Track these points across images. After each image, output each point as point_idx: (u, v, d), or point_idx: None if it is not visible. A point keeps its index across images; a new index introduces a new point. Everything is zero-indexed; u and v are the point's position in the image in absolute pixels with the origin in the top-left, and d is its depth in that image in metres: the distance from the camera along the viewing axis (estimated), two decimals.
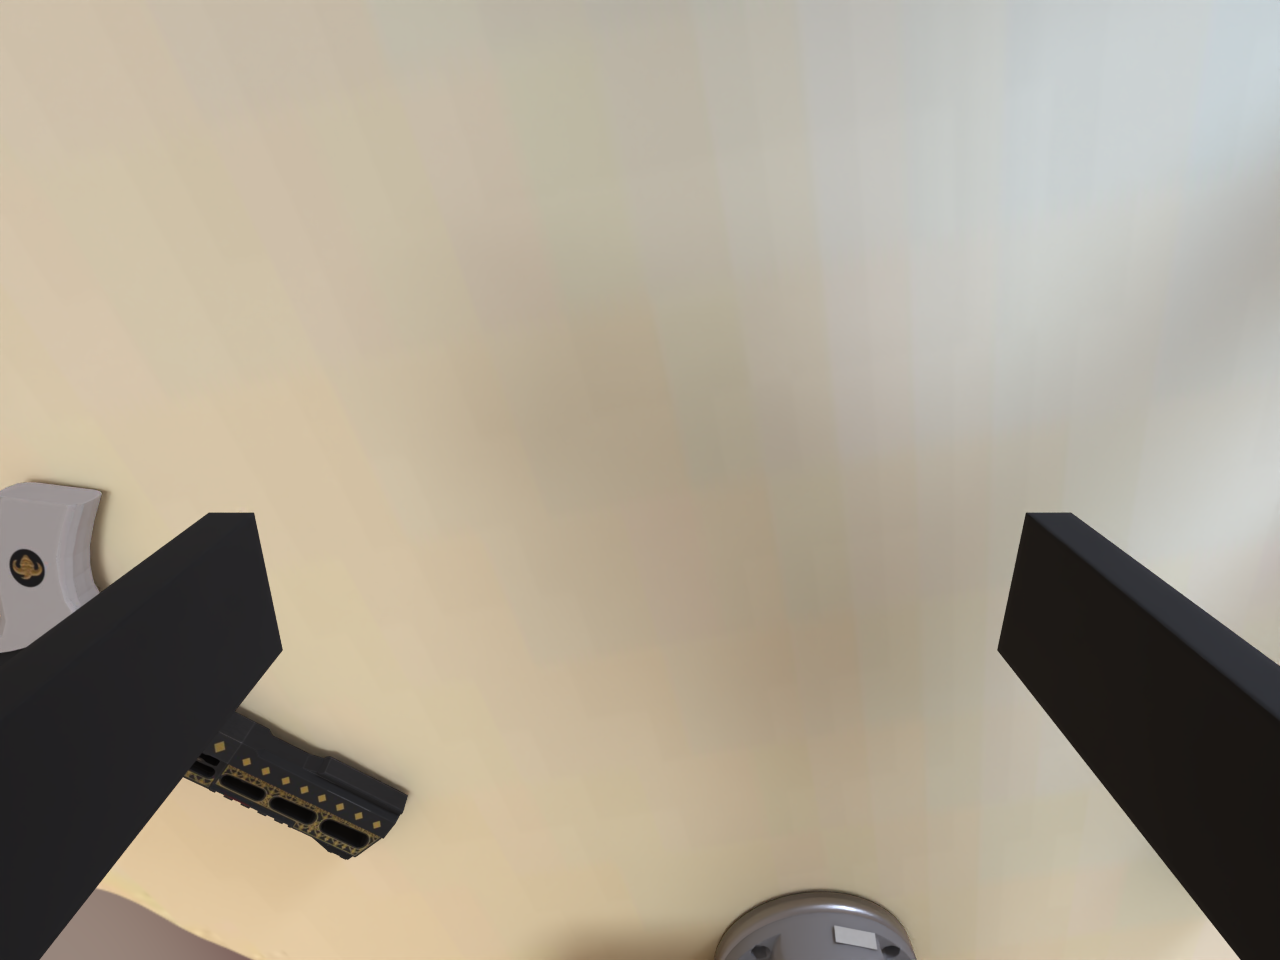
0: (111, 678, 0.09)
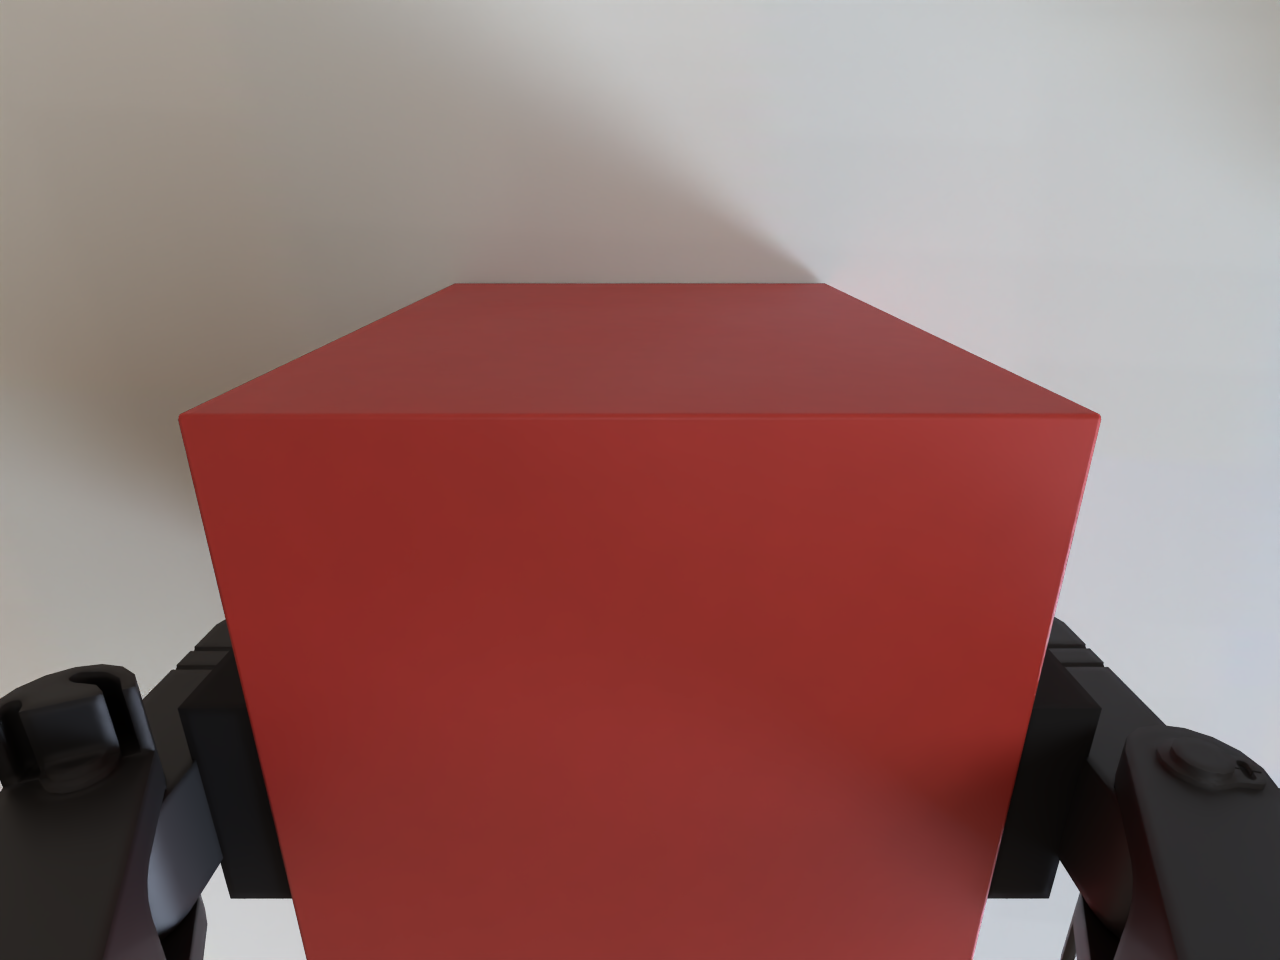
0: None
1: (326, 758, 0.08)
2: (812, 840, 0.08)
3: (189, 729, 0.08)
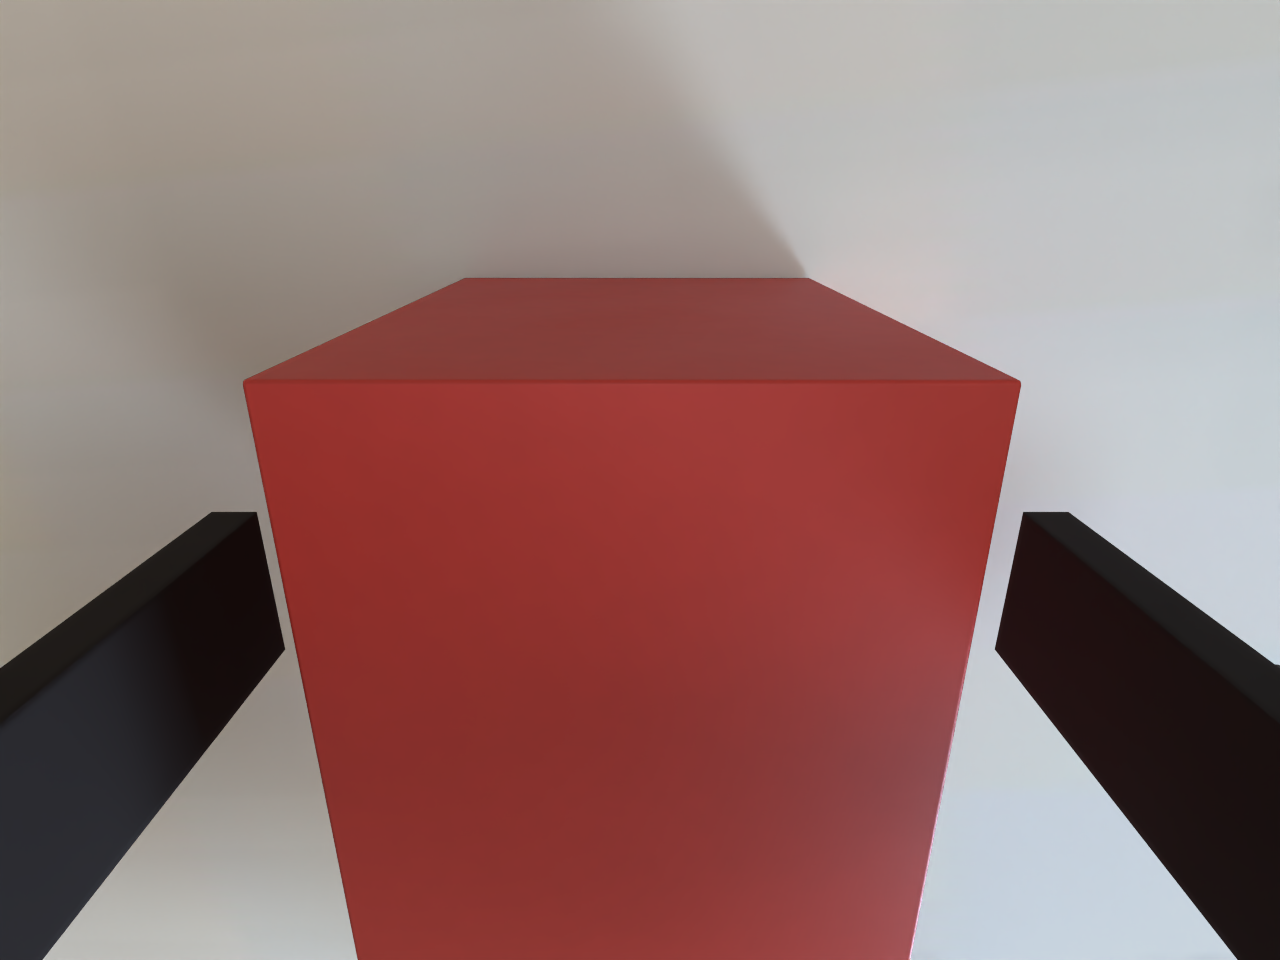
0: (115, 675, 0.09)
1: (362, 683, 0.09)
2: (784, 759, 0.09)
3: None
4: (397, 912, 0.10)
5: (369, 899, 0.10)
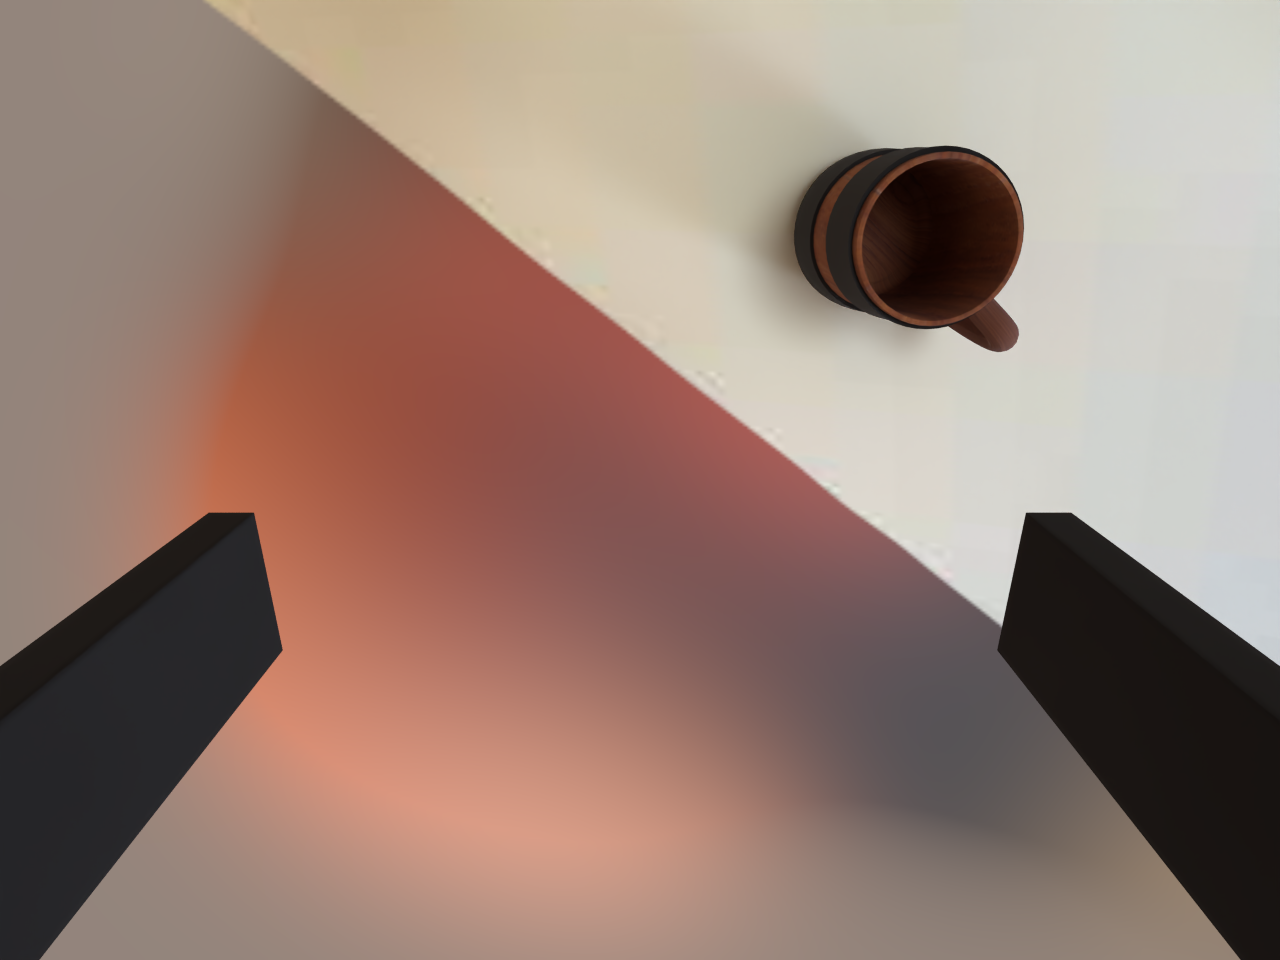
0: (111, 677, 0.09)
1: None
2: None
3: None
4: None
5: None
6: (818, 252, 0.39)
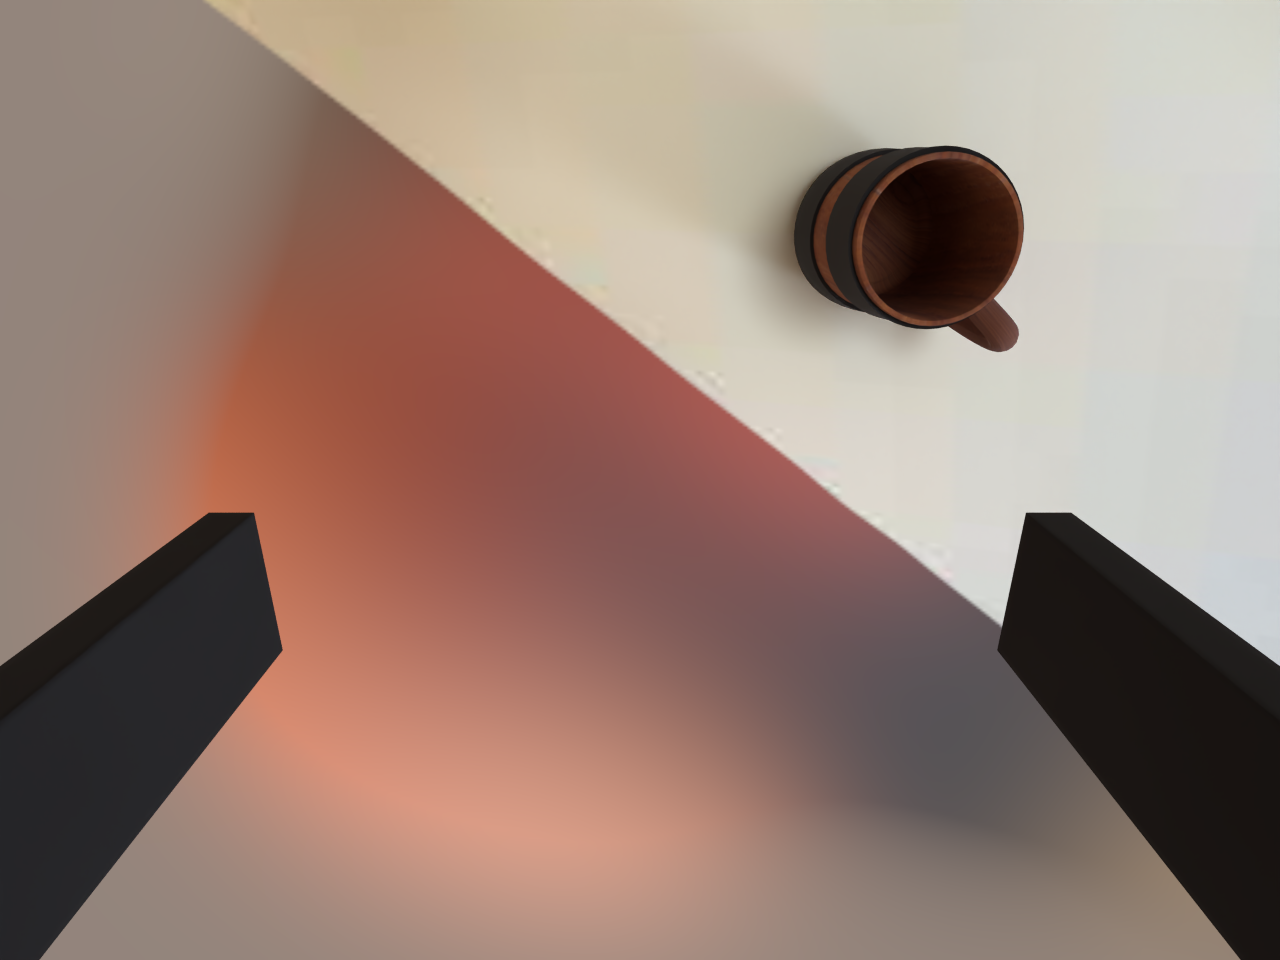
0: (111, 677, 0.09)
1: None
2: None
3: None
4: None
5: None
6: (818, 252, 0.39)
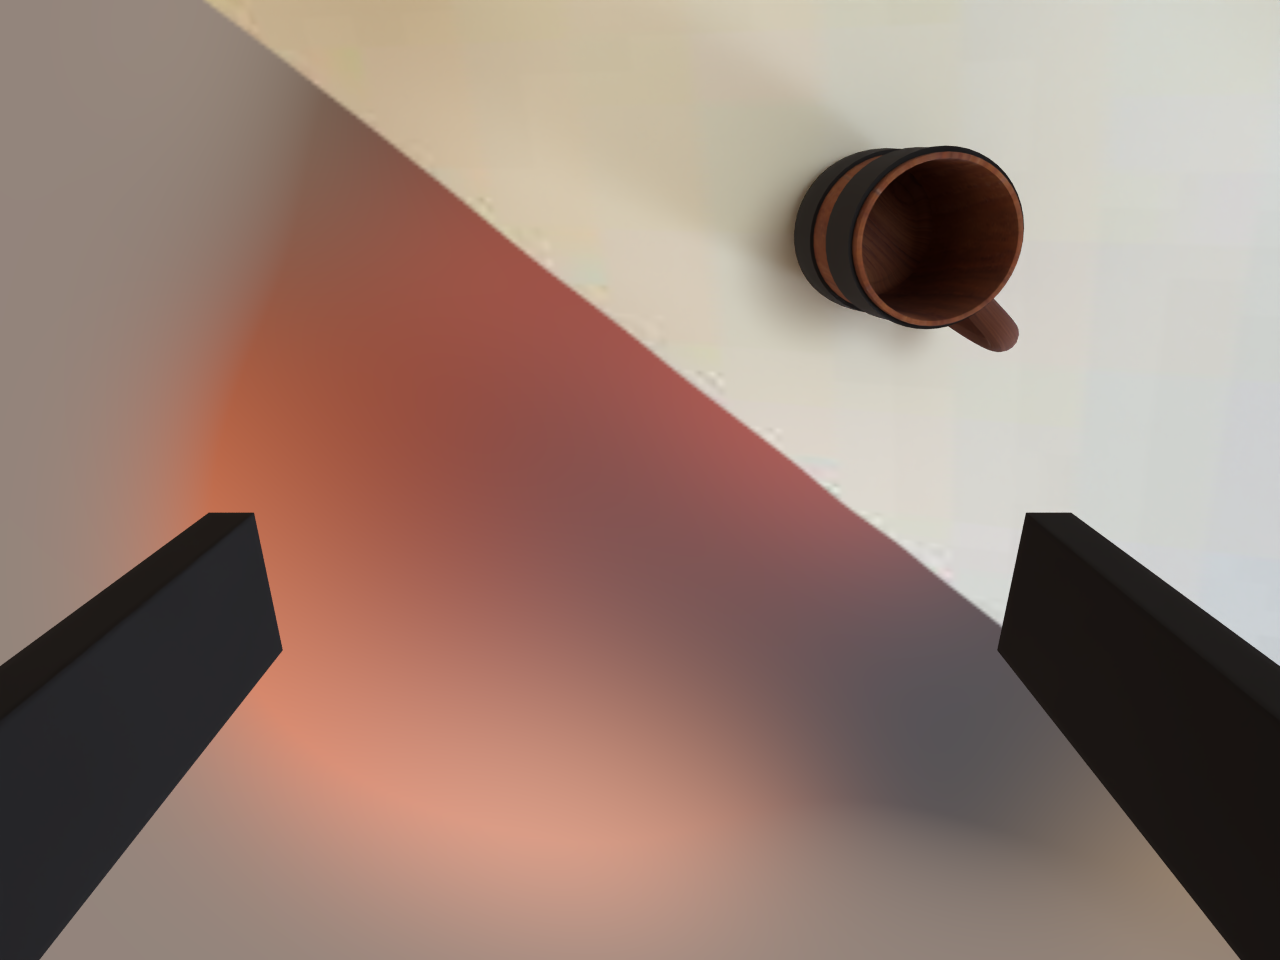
0: (111, 677, 0.09)
1: None
2: None
3: None
4: None
5: None
6: (818, 252, 0.39)
